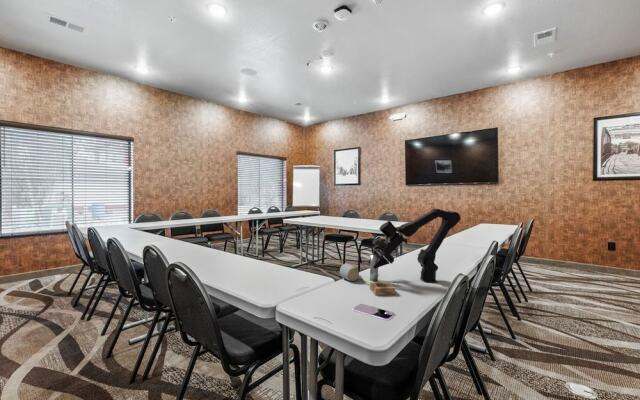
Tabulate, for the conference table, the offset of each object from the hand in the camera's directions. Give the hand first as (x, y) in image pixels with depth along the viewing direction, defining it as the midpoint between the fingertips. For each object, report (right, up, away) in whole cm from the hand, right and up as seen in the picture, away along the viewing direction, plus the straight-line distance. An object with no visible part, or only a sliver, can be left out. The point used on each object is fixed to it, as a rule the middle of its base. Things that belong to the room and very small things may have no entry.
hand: (371, 265), depth 147 cm
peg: (+1, -8, 0) cm, 8 cm away
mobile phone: (-6, -10, -37) cm, 39 cm away
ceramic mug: (-10, -8, +4) cm, 13 cm away
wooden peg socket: (+2, -9, -15) cm, 17 cm away
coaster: (+1, -8, 0) cm, 8 cm away
